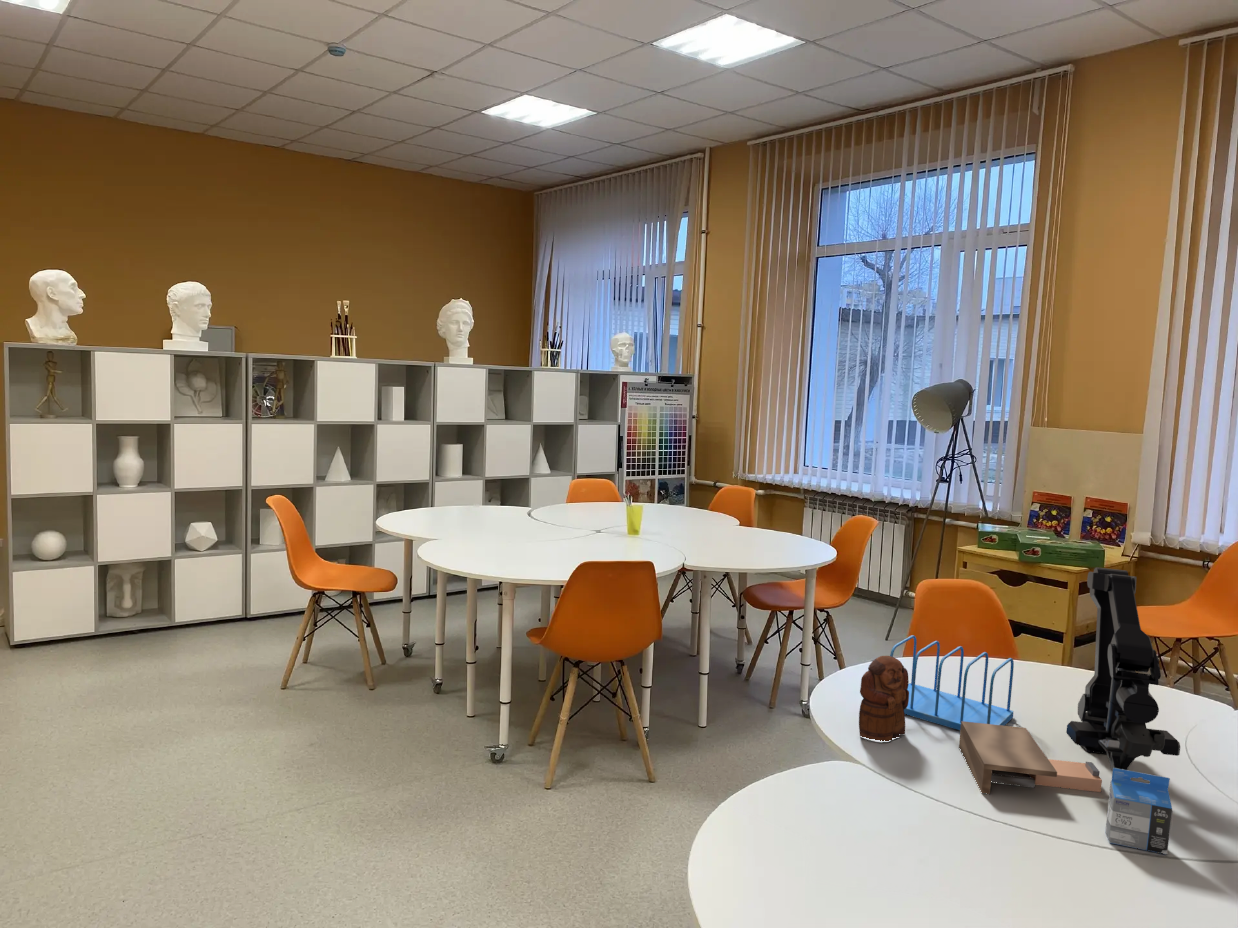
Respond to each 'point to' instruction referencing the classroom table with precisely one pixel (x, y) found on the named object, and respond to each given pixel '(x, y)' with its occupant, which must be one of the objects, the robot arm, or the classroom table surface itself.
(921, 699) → the file sorter
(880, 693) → the wooden figurine
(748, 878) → the classroom table surface
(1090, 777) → the pink slab with nub
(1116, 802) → the label tape box
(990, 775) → the low shelf
